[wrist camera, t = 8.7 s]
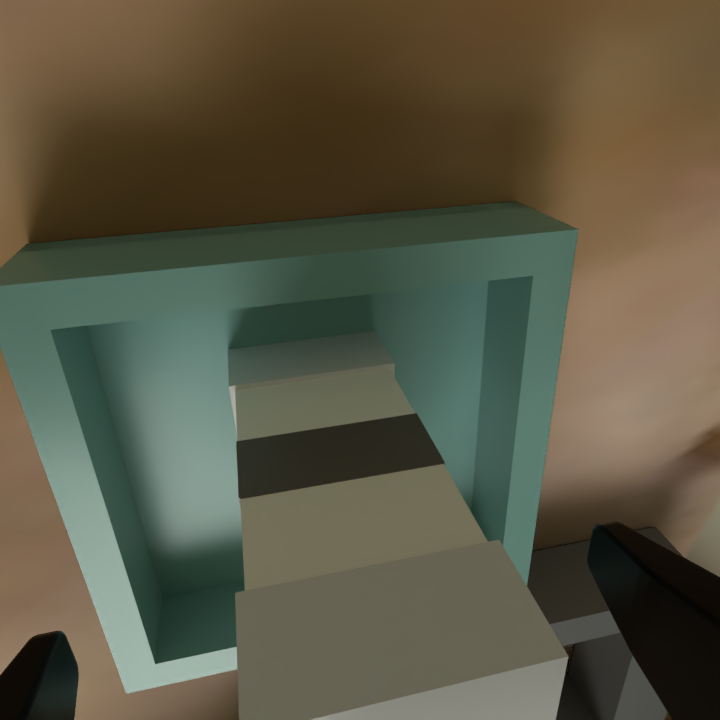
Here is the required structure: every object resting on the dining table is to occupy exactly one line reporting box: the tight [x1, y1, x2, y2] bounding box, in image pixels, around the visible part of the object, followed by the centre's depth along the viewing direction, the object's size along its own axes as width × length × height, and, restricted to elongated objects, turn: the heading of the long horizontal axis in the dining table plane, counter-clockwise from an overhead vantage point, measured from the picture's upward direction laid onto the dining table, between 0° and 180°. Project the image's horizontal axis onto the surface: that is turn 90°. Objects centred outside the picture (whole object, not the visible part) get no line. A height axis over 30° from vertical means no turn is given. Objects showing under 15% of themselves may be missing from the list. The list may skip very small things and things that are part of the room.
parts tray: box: [0, 201, 578, 694], centre depth 13 cm, size 10×10×2 cm
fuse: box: [228, 331, 569, 720], centre depth 10 cm, size 3×5×8 cm, turn 2°
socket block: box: [527, 527, 683, 720], centre depth 19 cm, size 8×8×2 cm
